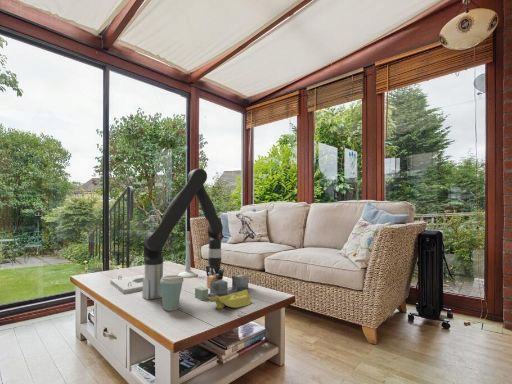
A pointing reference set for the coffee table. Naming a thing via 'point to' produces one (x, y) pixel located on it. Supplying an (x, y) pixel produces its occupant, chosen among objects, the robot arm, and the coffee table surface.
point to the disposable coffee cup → (171, 291)
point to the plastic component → (232, 300)
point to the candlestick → (188, 261)
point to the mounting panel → (129, 284)
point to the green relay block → (201, 293)
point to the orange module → (211, 279)
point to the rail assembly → (222, 288)
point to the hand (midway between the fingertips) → (214, 285)
